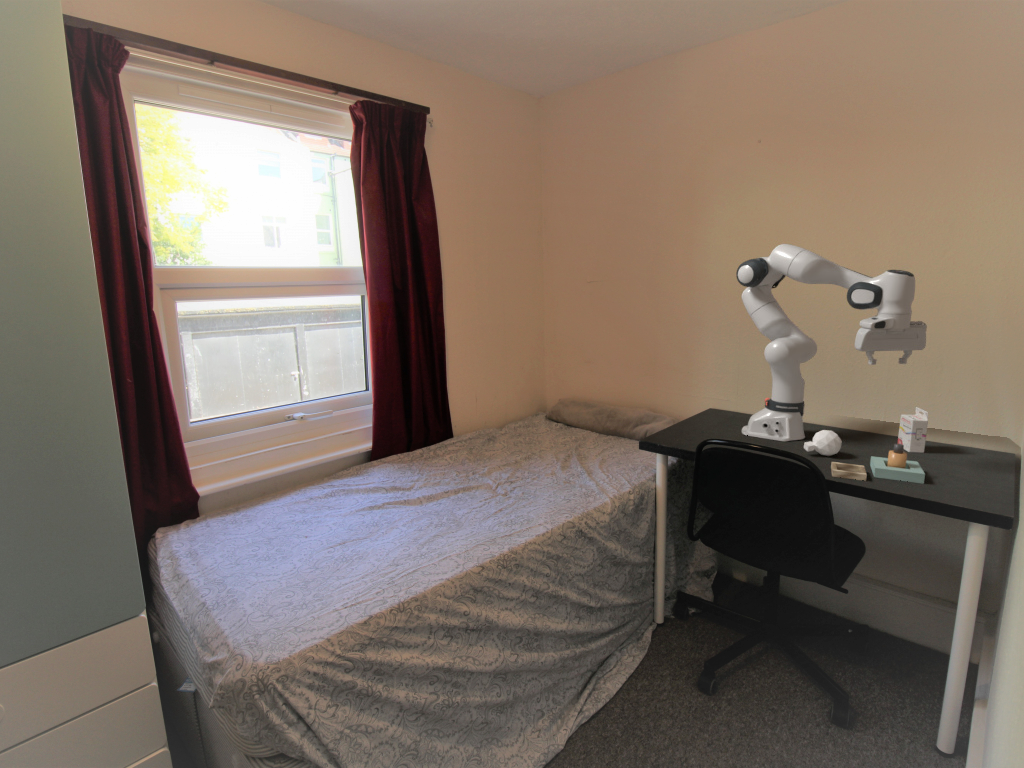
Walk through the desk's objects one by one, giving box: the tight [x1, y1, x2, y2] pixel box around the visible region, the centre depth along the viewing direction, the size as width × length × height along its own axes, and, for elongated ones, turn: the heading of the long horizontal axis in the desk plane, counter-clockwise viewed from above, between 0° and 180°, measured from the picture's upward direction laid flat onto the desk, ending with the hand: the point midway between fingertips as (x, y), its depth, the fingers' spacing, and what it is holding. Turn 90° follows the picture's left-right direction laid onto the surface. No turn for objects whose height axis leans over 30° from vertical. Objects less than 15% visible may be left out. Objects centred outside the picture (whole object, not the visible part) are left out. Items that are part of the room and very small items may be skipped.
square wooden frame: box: [830, 461, 867, 482], centre depth 163 cm, size 9×9×2 cm
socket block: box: [869, 455, 926, 484], centre depth 162 cm, size 12×12×3 cm
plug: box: [887, 443, 908, 469], centre depth 162 cm, size 5×5×10 cm
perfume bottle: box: [803, 429, 843, 457], centre depth 181 cm, size 9×9×12 cm
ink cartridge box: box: [896, 406, 929, 454], centre depth 184 cm, size 9×5×15 cm, turn 168°
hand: (887, 364), depth 170 cm, fingers open, 8 cm apart
